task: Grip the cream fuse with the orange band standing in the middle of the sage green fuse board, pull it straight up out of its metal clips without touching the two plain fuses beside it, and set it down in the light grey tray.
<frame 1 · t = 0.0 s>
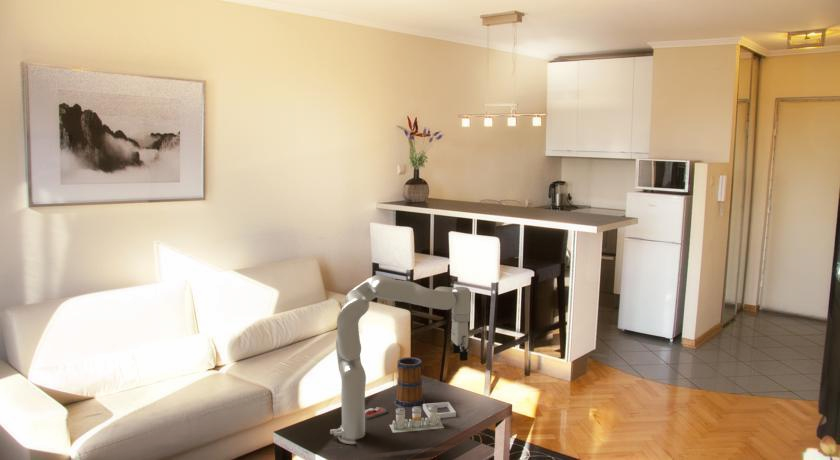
hand: (460, 356, 279), 31 cm above the table, tool pointing down, fingers open, 9 cm apart
tray: (439, 415, 295), on the table
near fuse: (400, 427, 279), point 1 cm above the table, touching fuse board
marked fuse: (416, 426, 280), point 1 cm above the table, touching fuse board
red flat piece: (366, 419, 292), on the table
mug: (407, 401, 312), on the table
fuse board: (416, 429, 280), on the table
far fuse: (432, 424, 282), point 1 cm above the table, touching fuse board
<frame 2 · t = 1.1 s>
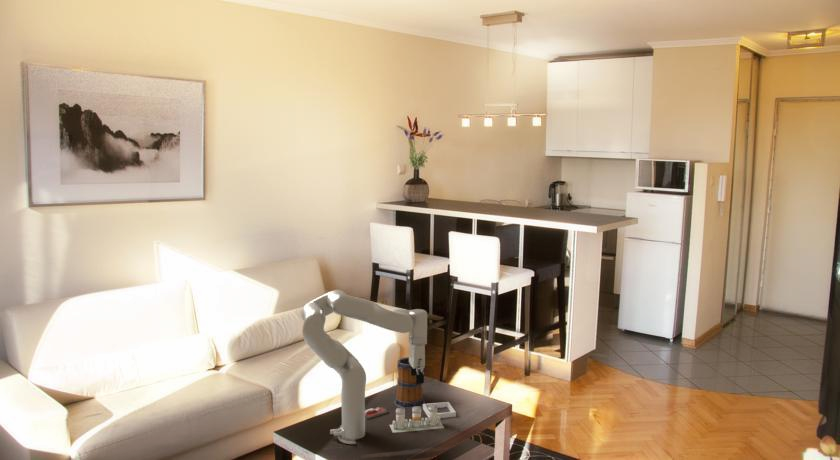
hand: (417, 379, 278), 22 cm above the table, tool pointing down, fingers open, 9 cm apart
nothing on the table moved.
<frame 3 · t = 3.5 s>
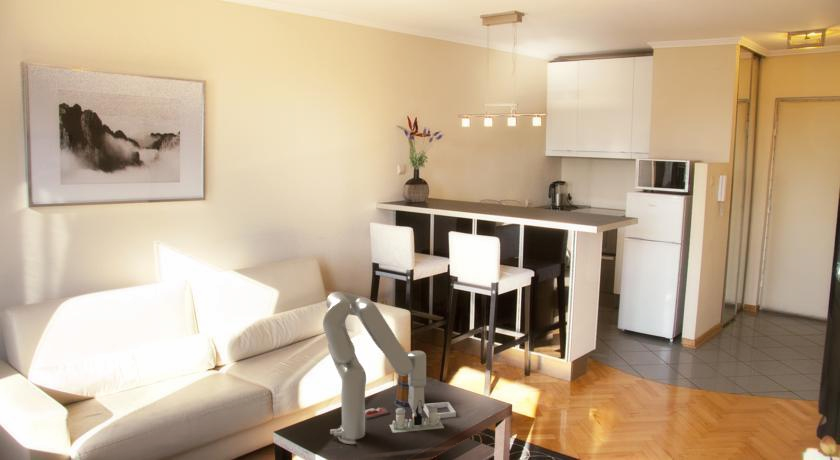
hand: (416, 422, 280), 3 cm above the table, tool pointing down, fingers closed on marked fuse, 3 cm apart
marked fuse: (416, 426, 280), point 2 cm above the table, touching fuse board, gripper
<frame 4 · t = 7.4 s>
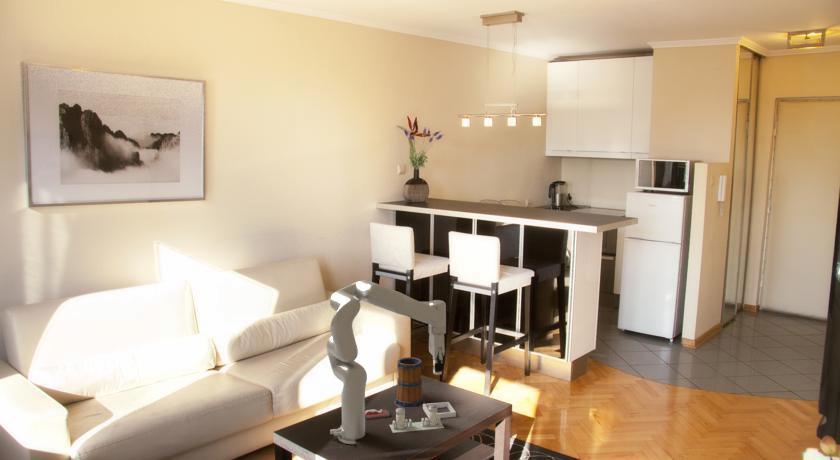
hand: (437, 369, 290), 22 cm above the table, tool pointing down, fingers closed on marked fuse, 3 cm apart
marked fuse: (437, 373, 290), point 20 cm above the table, touching gripper
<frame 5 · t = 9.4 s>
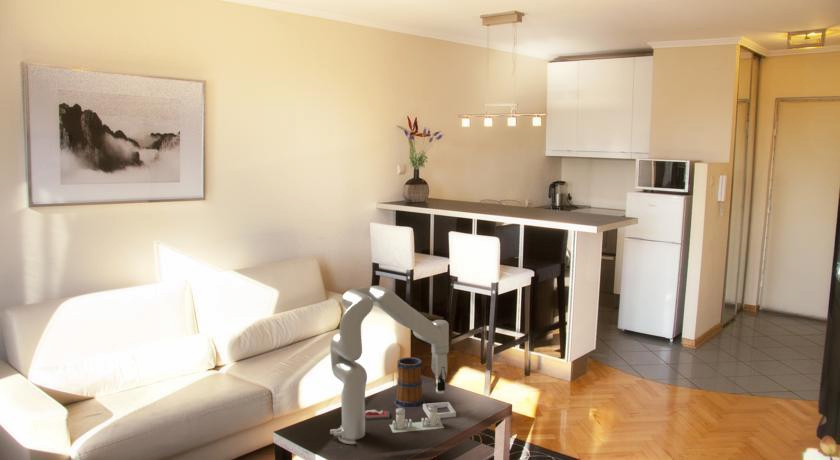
hand: (439, 388, 293), 13 cm above the table, tool pointing down, fingers closed on marked fuse, 3 cm apart
marked fuse: (440, 392, 294), point 11 cm above the table, touching gripper
when the fingers open (4 cm above the table, at t = 11.2 s): marked fuse drops 1 cm, resting on tray.
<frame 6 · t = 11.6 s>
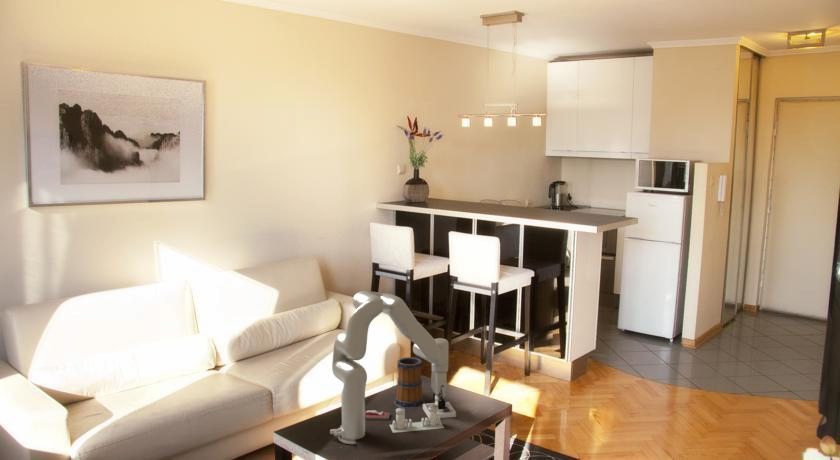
hand: (439, 405, 294), 5 cm above the table, tool pointing down, fingers open, 7 cm apart
marked fuse: (439, 413, 295), point 1 cm above the table, touching tray
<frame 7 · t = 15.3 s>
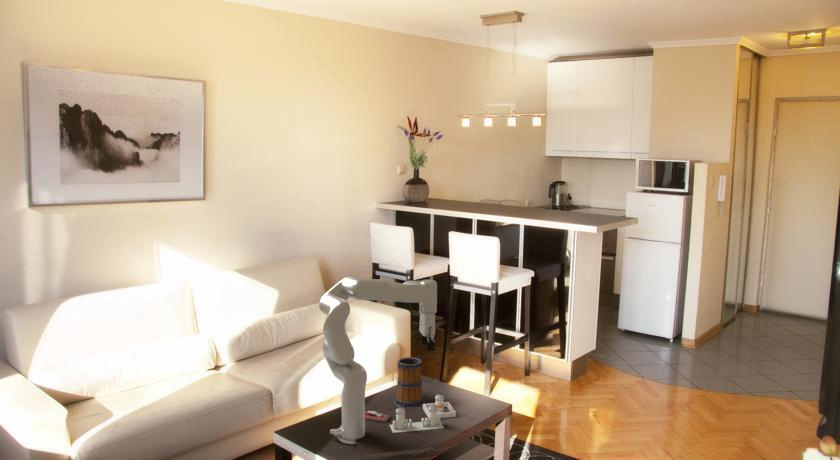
hand: (427, 347, 287), 32 cm above the table, tool pointing down, fingers open, 9 cm apart
at the end: marked fuse inside the target area on the tray (0.1 cm from its centre), point 1.0 cm above the tray's base; near fuse moved 0.0 cm from its start; far fuse moved 0.0 cm from its start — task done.
